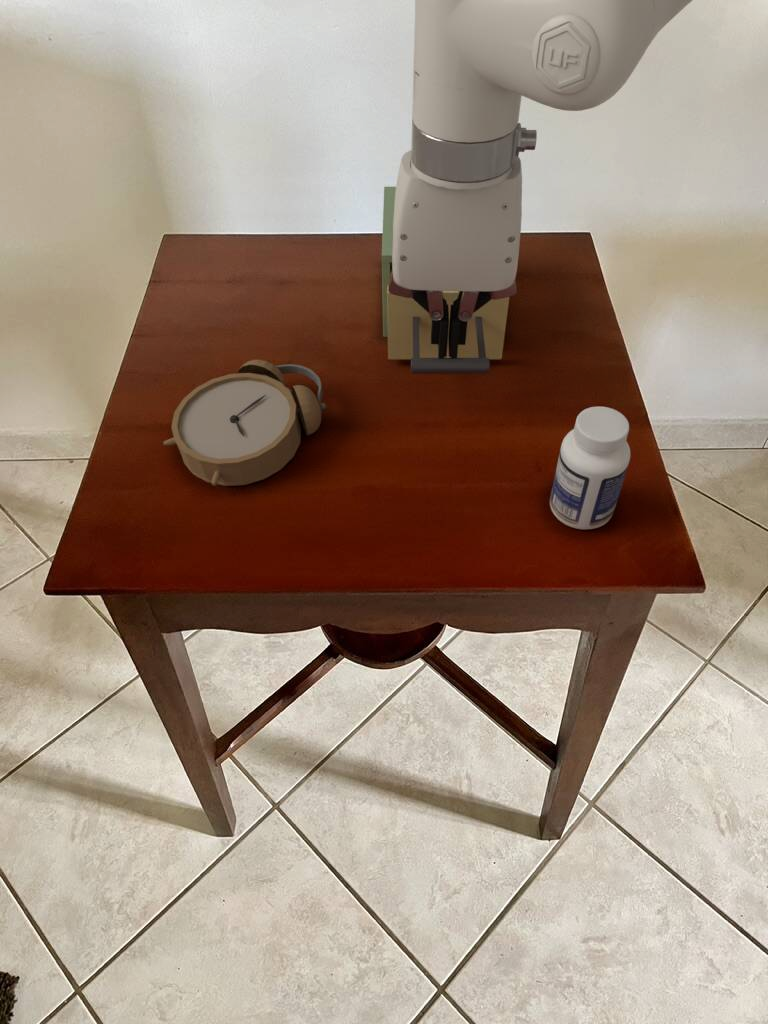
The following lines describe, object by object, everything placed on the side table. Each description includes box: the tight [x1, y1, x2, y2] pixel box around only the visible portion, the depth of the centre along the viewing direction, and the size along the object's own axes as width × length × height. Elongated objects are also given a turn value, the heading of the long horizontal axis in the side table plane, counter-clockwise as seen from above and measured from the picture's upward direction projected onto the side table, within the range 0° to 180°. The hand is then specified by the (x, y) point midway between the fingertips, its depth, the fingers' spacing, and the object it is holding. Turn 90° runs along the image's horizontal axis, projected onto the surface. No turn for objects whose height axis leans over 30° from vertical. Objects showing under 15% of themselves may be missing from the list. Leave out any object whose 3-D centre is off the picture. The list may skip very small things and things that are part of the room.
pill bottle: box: [549, 406, 631, 531], centre depth 62 cm, size 5×5×10 cm
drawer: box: [387, 286, 510, 375], centre depth 77 cm, size 20×11×8 cm, turn 179°
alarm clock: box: [163, 359, 327, 487], centre depth 71 cm, size 11×5×15 cm
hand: (447, 348), depth 70 cm, fingers closed
